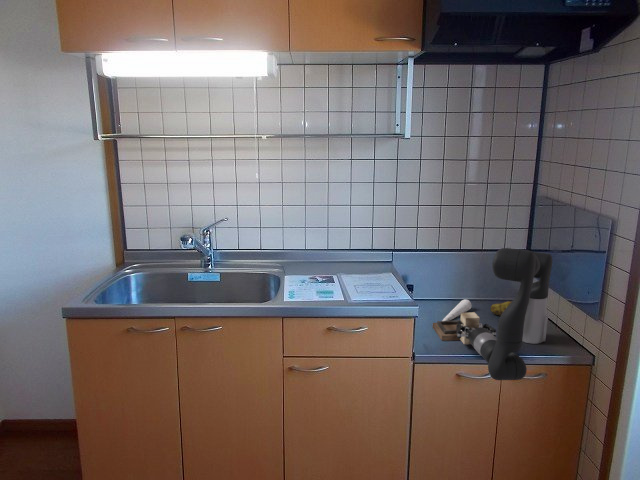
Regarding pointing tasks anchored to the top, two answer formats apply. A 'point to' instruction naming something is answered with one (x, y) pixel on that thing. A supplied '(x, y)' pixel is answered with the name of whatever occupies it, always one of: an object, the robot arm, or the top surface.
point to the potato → (499, 307)
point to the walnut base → (446, 330)
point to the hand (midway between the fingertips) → (466, 322)
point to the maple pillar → (469, 323)
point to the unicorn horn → (458, 310)
